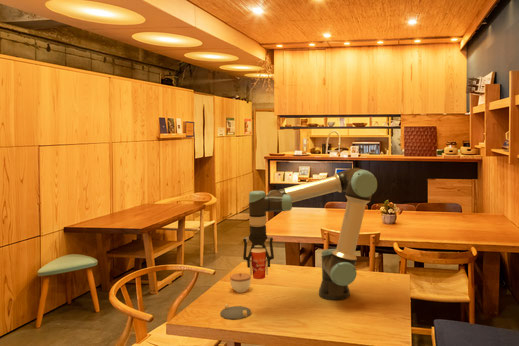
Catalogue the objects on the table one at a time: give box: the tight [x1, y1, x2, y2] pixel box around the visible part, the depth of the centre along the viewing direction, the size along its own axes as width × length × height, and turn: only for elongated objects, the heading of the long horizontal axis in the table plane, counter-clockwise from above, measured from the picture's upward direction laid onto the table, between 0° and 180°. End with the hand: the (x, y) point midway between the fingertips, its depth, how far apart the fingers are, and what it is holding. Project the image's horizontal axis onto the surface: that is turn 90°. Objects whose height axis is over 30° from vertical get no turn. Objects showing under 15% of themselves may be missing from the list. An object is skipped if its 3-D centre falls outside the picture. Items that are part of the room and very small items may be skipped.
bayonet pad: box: [220, 303, 252, 321], centre depth 233 cm, size 14×14×3 cm
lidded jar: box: [229, 272, 252, 294], centre depth 264 cm, size 11×11×9 cm
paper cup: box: [250, 245, 267, 280], centre depth 233 cm, size 8×8×14 cm
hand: (259, 274), depth 234 cm, fingers closed on paper cup, 7 cm apart
